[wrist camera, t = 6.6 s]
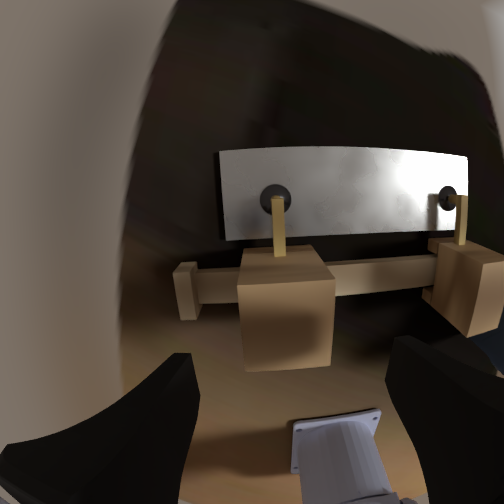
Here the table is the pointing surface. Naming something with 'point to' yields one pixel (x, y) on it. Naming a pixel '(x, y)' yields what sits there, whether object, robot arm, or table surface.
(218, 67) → the table surface
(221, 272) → the rail
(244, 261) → the brown block with peg
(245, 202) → the bolt plate
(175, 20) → the table surface
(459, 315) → the fixed leg
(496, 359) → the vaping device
